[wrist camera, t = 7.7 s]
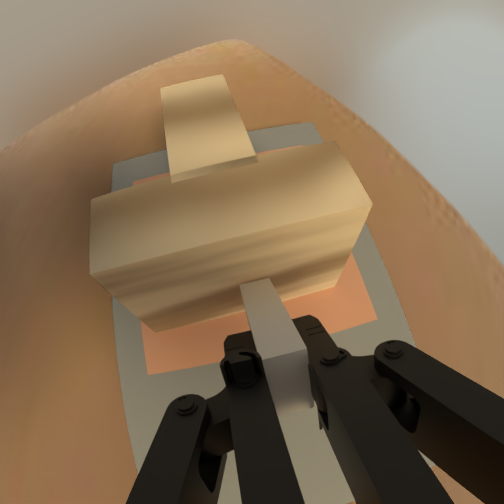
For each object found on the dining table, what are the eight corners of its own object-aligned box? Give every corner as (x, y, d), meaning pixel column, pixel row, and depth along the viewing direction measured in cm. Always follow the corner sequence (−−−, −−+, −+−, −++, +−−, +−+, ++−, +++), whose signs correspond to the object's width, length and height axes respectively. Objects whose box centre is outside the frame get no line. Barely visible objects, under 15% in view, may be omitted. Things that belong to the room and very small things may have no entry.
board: (437, 456, 16) (447, 458, 15) (162, 529, 15) (156, 536, 13) (310, 133, 30) (312, 121, 29) (118, 174, 29) (112, 164, 27)
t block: (334, 286, 21) (372, 204, 13) (155, 332, 20) (89, 274, 12) (280, 157, 26) (282, 65, 19) (139, 191, 25) (101, 106, 18)
